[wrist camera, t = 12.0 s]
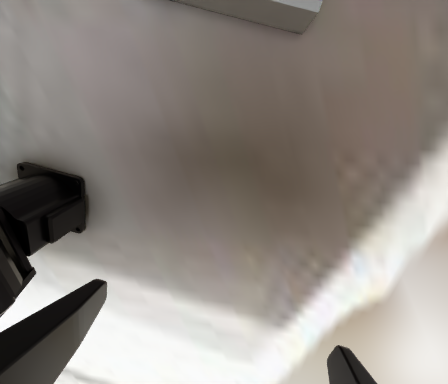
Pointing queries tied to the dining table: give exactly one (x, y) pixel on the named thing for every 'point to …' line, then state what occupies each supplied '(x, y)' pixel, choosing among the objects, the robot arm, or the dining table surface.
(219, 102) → the dining table surface
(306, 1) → the square tray
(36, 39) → the dining table surface
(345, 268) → the dining table surface
